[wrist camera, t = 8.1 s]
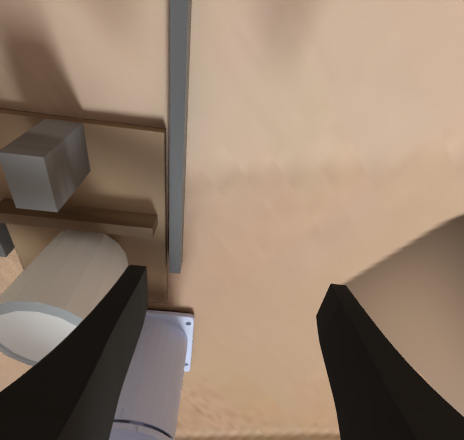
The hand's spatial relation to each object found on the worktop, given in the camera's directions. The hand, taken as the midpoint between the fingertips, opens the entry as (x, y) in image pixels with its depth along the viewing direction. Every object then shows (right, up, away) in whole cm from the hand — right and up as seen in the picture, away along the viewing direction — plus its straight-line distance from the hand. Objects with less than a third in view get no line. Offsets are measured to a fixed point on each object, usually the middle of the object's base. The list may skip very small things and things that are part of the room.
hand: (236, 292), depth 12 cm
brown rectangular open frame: (-10, +3, +10) cm, 15 cm away
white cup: (-11, 0, +11) cm, 16 cm away
